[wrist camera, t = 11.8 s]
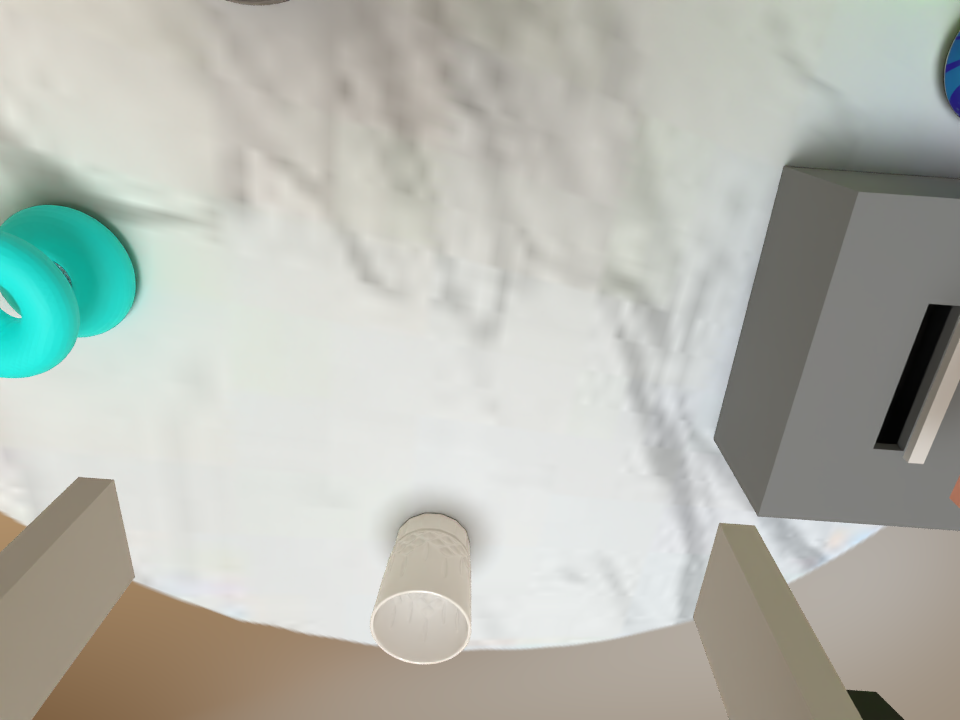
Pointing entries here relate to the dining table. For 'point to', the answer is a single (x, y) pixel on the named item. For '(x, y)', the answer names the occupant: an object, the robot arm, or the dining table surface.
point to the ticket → (956, 493)
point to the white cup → (425, 592)
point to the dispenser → (851, 354)
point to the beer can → (953, 75)
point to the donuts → (58, 286)
